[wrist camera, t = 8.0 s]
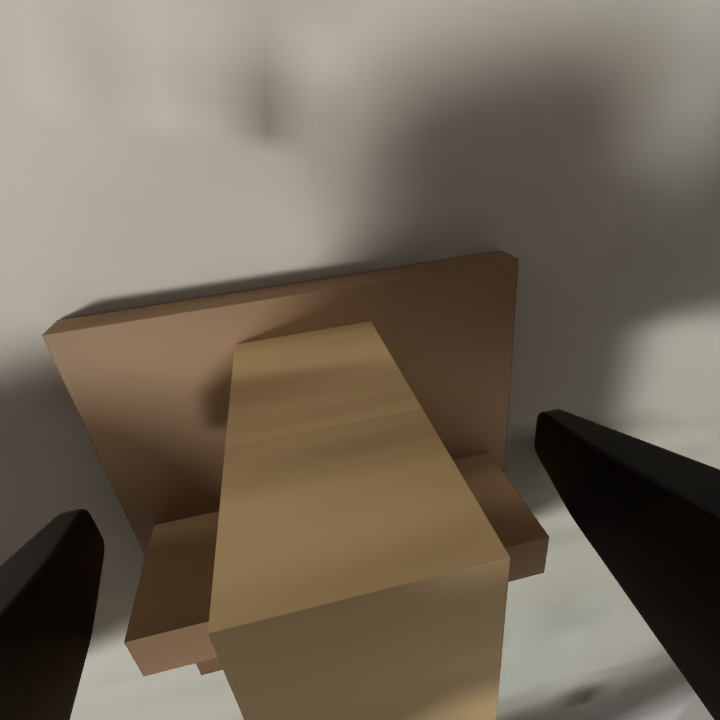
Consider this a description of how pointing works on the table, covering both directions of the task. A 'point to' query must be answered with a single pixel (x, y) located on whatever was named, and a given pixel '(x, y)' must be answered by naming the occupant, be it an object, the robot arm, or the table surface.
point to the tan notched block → (349, 544)
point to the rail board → (211, 406)
